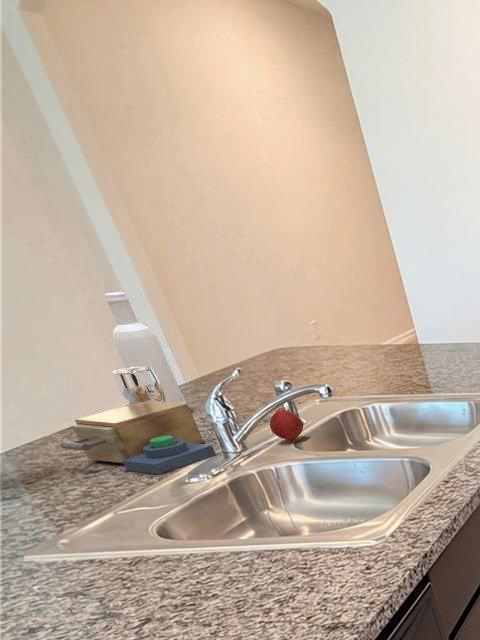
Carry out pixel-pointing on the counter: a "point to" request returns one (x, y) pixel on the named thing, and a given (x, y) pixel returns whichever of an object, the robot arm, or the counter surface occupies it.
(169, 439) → the button
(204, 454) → the block
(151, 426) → the cabinet
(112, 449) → the drawer
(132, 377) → the beer glass
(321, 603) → the counter surface
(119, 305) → the bottle
